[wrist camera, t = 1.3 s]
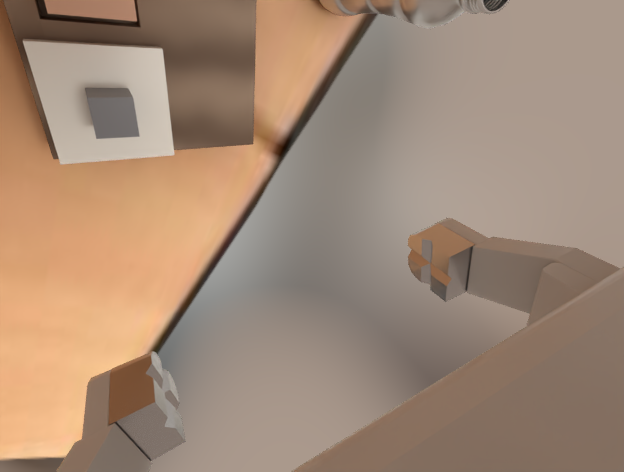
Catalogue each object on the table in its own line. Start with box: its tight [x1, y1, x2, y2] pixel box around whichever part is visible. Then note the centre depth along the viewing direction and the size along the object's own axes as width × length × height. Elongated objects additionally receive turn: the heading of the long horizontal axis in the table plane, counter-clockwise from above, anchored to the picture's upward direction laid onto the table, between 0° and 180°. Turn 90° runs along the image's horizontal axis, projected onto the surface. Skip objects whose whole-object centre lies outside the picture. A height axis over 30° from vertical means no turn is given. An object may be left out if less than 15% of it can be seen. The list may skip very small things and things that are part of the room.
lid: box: [23, 39, 174, 164], centre depth 27 cm, size 9×9×4 cm
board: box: [3, 0, 256, 159], centre depth 30 cm, size 18×18×4 cm
